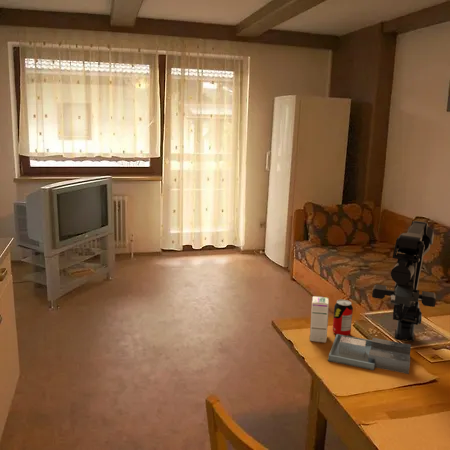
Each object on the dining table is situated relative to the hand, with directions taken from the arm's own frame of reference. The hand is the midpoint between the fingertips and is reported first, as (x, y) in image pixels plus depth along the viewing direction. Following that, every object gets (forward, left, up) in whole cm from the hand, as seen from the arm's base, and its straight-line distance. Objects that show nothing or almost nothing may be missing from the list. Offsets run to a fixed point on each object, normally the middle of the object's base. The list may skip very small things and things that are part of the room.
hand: (400, 319), depth 155 cm
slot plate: (+6, -2, -12) cm, 14 cm away
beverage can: (-7, -19, -12) cm, 24 cm away
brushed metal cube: (+6, -14, -10) cm, 18 cm away
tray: (+6, -13, -12) cm, 19 cm away
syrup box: (0, -26, -12) cm, 29 cm away
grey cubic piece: (+6, -12, -12) cm, 18 cm away
